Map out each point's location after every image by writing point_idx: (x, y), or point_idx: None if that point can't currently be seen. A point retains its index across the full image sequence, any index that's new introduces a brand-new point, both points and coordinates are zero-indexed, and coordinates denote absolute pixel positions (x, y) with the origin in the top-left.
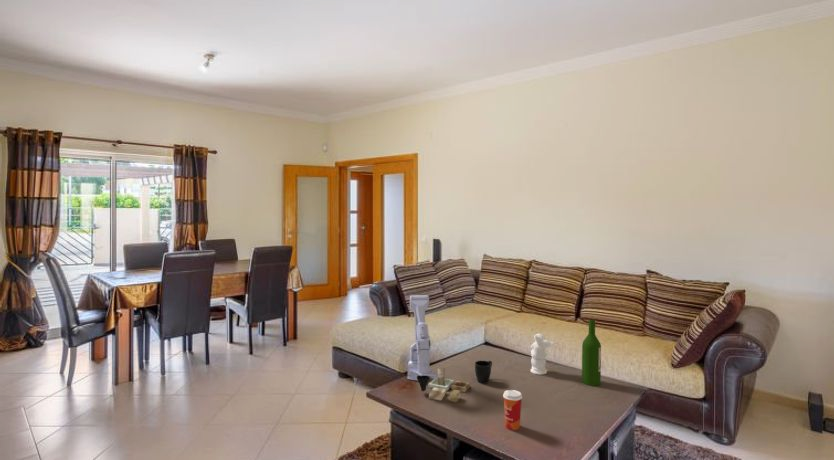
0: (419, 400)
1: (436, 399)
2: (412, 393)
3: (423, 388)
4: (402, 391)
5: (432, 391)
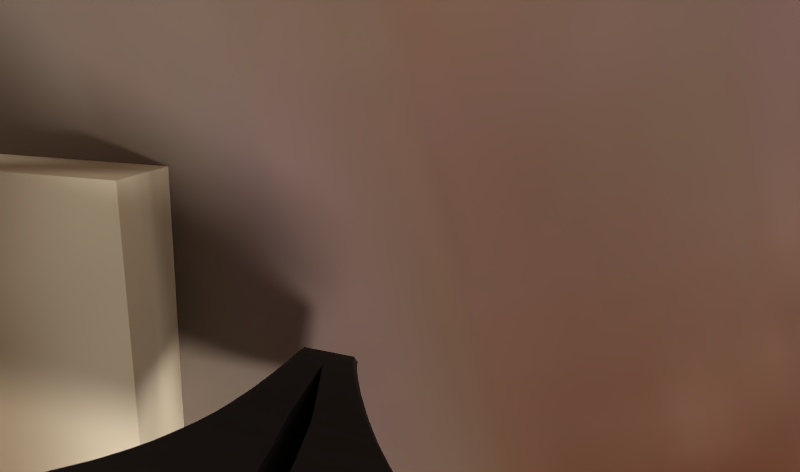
0: (319, 37)
1: (19, 157)
2: (529, 310)
3: (291, 369)
4: (734, 349)
5: (100, 331)
